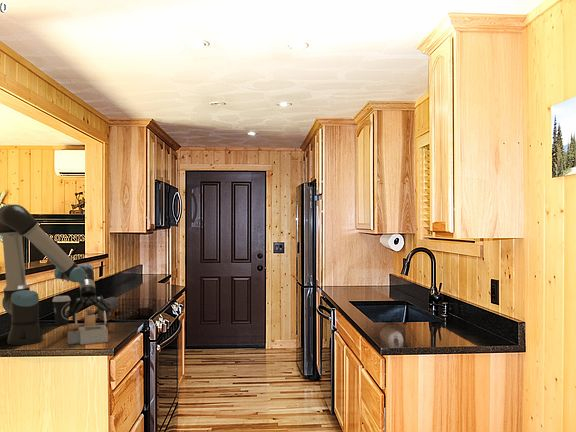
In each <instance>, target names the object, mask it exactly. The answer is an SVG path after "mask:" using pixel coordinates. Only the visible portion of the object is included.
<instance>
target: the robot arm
mask: <svg viewBox="0 0 576 432" xmlns="http://www.w3.org/2000/svg"><path fill="white" fill-rule="evenodd" d="M0 236H1V238H2V248H3V249H2V250H3V259H4V269H5V270H4V273H5V274H4V275H5V283H6V284H5V287H4V288H3V290H2V291H3V298H2V302H1V303H2V308H3V309H4V311H5V312H6V313H7V314H9V315H11V319H10V320H11V326H10V329H9V330H10V331H9V332H8V336H7V344H8V345H10V344H11V346H23V345H24V346H25V345H32V344H37V343H40V342H43V340H44V335H43V332H42V329H41V326H40V319H39V318H40V315H39V313H40V312H39V311H40V310H39V309H40V307H39V306H40V305H39V302H40V298H39V293H38V292H37V291H35V290H31V289H30V288H31V287H30V285H29V284H27V280H26V270H25V257H24V243H23V237H25V238H26V239H27V240H28V241H29V242H30V243H31V244H32V245H34V247H35V248H36V249H38V250H39V252H41V254H42V255H44V256H45V257H46V258H47V259H48V260H49V261H50V262H51V263H52V264H53V265H54V266H55V269H54V273H53V274H54V278H55V279H57V280H63V281H64V280H65V281H69V282H72V283H78V285H79V294H80V295H79V296H80V297H76V296H75V297H74V299H73V302H72V304H71V305H70V307H69V311H68V315H69V316H71V317H72V322H74V326H75V328H78V315H77V313H79V311H80V310H82V308H84V306H85V307H88V306H90V307H92V306H94V307H96V308H99V309H100V310H102V311H103V312H104V313H103V315H104V320H103V321H104V323H103V325H105V326H106V325H107V320H106V318H108V312H111V307H110V306H109V305H108V304H107V302H106V301H105V299H104V297H103V295H102V294H101V295H99V296H97V293H96V292H97V291H96V284H95V273H94V267H93V266H92V265H91V264H89V263H85V264H84V263H82V264H80V265H78V264H77V263H76V262H74V260H73V259H72V258H71V257H70V256H69V255H68V254H67V253H66V252H65V251H64V250H63V249H62V248H61V247H60V246H59V245H58V244H57V243H56V242H55V241H54V240H53V239H52V238H51V237H50V236H49V235H48V234H47V233H46V232H45V231H44V230H43V229H42V228H41V226H39V221H37V220H36V218H34V216H32V214H31V213H30V212H29V211H28V210H27V209H26V208H25V207H24V206H22V205H20V204H7V205H6V204H5V205H3V206H1V207H0ZM79 302H80V303H79ZM100 303H102V304H103V305H101V304H100ZM77 304H78V305H77Z"/></svg>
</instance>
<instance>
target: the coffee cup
mask: <svg viewBox="0 0 576 432" xmlns="http://www.w3.org/2000/svg"><path fill="white" fill-rule="evenodd" d="M71 301H72V300H71V297H70V296H69V295H57V296H54V297H53V298H52V300H51V302H52V303H53V304H52V307H53V313H54V314H53V315H54V322H55V323H54V324H55V326H65V325H69V320H70V319H69V317H70V315H68V311H69V309H70V307H71V305H70V304H71Z"/></svg>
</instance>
